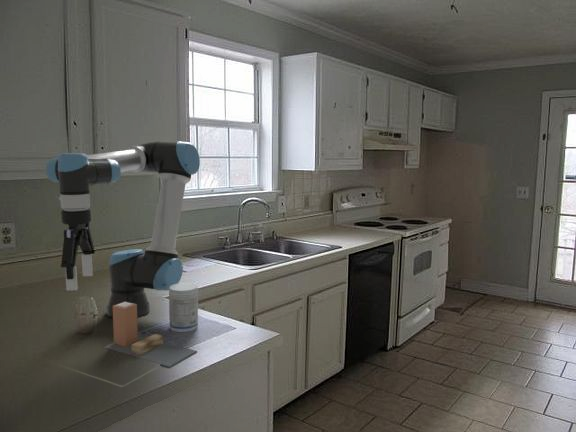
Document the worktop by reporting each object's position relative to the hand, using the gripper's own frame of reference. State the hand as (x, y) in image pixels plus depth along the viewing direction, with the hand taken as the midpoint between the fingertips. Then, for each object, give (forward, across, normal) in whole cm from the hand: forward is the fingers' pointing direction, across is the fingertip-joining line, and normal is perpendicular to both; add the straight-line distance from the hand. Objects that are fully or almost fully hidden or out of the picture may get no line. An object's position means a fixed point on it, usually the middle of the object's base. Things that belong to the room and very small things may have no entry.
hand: (80, 282), depth 137 cm
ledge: (+22, -3, +17) cm, 28 cm away
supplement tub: (+23, -20, +26) cm, 40 cm away
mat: (+22, -3, +18) cm, 29 cm away
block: (+22, -8, +10) cm, 25 cm away
